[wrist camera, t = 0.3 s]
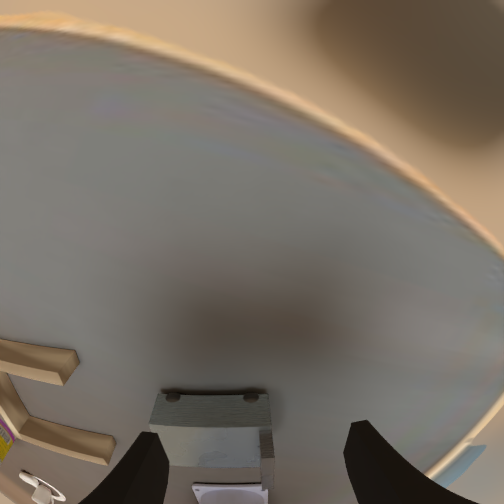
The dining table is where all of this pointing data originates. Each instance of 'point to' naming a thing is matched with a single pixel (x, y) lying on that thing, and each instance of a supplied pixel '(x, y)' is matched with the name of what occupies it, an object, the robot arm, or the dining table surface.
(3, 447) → the supplement bottle
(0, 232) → the dining table surface
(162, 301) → the dining table surface
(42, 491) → the teacup and saucer
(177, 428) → the grey stepped block
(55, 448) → the dock bay
